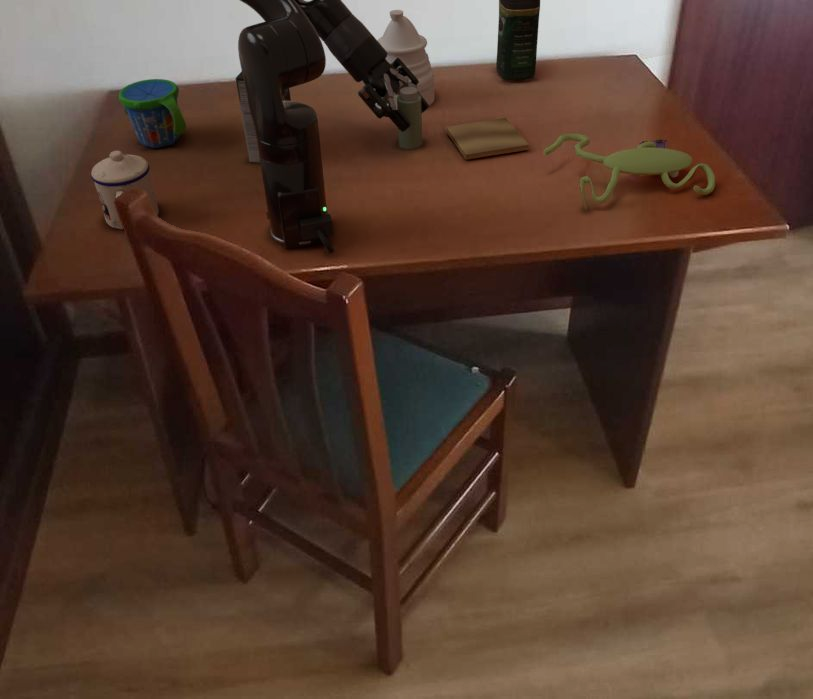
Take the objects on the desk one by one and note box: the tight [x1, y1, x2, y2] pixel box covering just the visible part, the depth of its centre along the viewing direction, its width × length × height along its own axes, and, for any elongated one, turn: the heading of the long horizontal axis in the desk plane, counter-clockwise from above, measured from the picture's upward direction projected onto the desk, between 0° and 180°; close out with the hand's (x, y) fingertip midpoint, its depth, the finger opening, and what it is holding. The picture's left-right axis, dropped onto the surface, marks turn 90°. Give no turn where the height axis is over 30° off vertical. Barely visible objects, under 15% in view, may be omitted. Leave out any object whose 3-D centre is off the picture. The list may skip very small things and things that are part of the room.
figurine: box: [543, 133, 716, 211], centre depth 147 cm, size 18×27×6 cm
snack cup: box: [118, 78, 187, 149], centre depth 163 cm, size 16×10×10 cm
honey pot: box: [375, 9, 435, 110], centre depth 171 cm, size 13×13×18 cm
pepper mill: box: [397, 87, 423, 150], centre depth 158 cm, size 4×4×10 cm
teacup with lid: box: [90, 150, 159, 231], centre depth 139 cm, size 12×9×12 cm
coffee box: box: [235, 70, 292, 164], centre depth 155 cm, size 9×6×16 cm
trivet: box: [445, 117, 530, 160], centre depth 160 cm, size 12×12×1 cm
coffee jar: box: [495, 0, 541, 83], centre depth 179 cm, size 10×8×19 cm
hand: (416, 119), depth 158 cm, fingers open, 7 cm apart
